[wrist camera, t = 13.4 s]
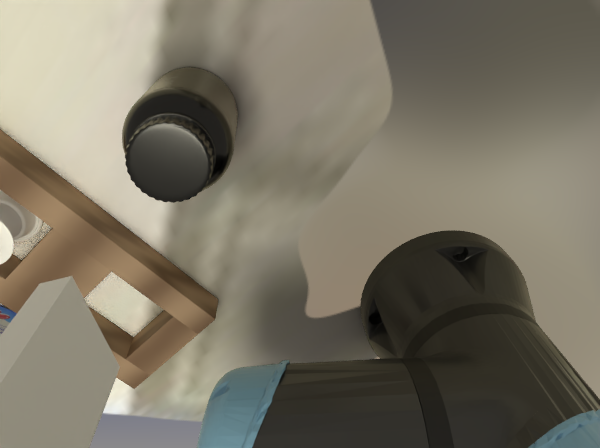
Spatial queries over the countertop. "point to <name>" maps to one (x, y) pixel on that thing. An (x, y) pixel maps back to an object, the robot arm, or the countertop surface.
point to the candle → (15, 225)
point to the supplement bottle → (180, 134)
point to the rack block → (98, 264)
